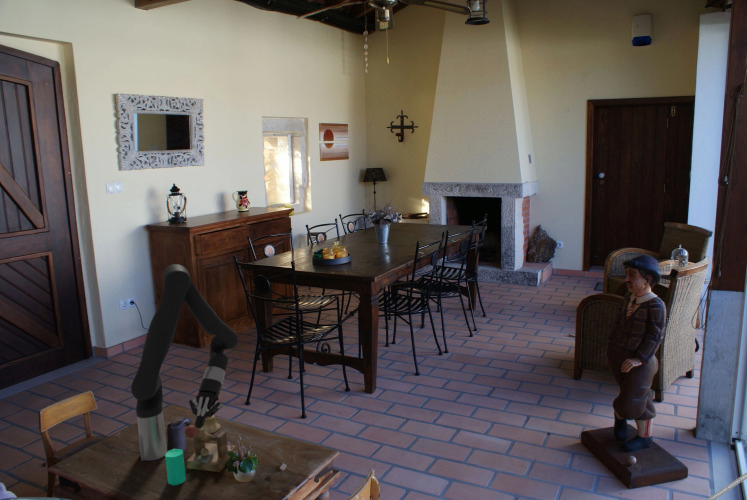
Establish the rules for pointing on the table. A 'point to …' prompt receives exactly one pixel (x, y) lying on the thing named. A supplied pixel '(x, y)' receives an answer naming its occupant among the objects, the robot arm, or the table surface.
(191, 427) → the lever
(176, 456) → the candle
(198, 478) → the table surface
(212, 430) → the hand bell
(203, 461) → the nutcracker bench
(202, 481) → the table surface
